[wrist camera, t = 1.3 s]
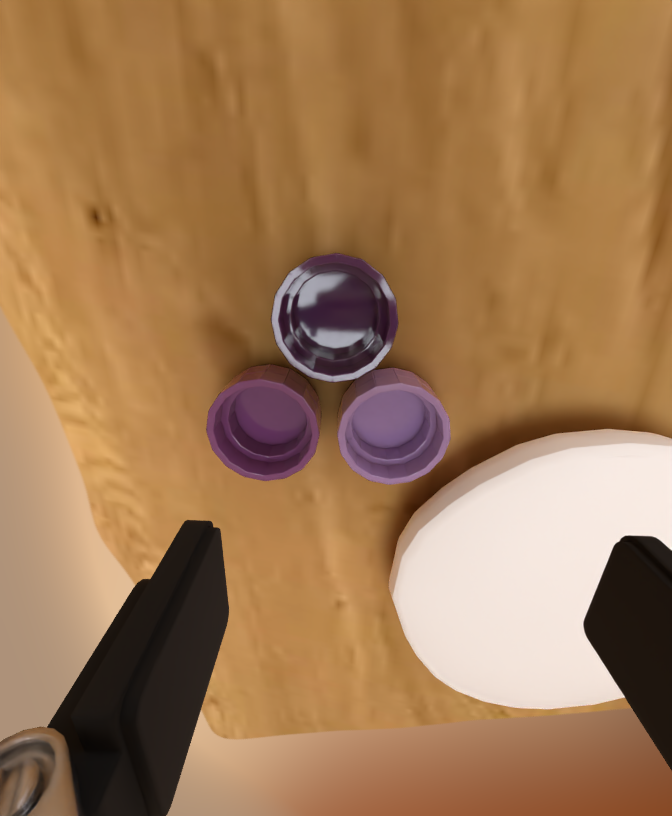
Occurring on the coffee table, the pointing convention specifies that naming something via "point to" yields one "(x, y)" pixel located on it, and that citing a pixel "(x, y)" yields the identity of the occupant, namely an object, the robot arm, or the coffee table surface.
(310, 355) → the aubergine dish
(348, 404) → the lilac dish
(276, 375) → the plum dish
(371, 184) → the coffee table surface
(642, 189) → the coffee table surface
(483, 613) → the plate
